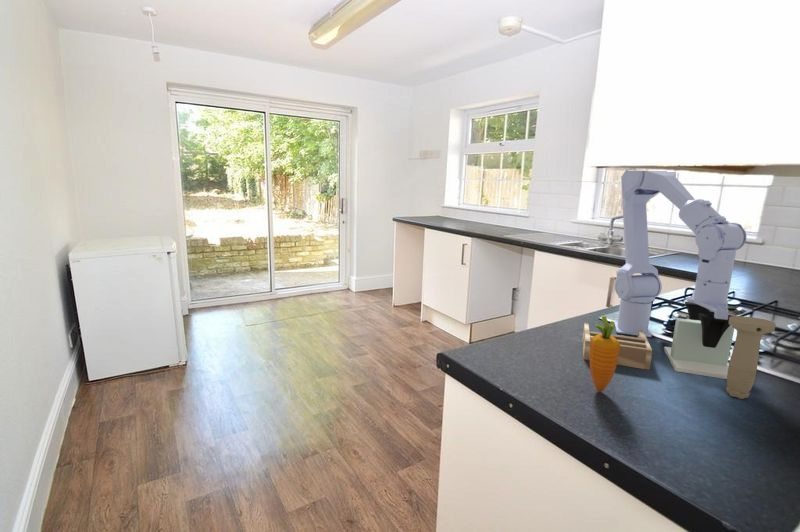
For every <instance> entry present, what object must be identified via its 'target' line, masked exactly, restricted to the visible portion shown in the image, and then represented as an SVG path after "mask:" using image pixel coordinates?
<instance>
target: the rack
mask: <svg viewBox="0 0 800 532" xmlns="http://www.w3.org/2000/svg"><path fill="white" fill-rule="evenodd" d="M598 334H602V332H598V331H592V330H591V331H590V325H589V323H585V322H584V323H583V331H582V354H583V355H582V356H583V360H585V361H589V357H590V341H591V338H592V337H594V336H596V335H598ZM611 336H613V337H615V338H616V339H617V340H618V342H619V343H620V350H619V356H618V361H617V366H622V367H623V366H624V367H629V368H636V369H637V368H638V369H641V370H648V371H650V369H651V362H652V357H653V356H652V355H653V349H652V347H651V345H650V343H649V340H648V337H646V336H645V333H644V331H642V330H638V336H635V337H634V336H630V335H629V336H628V335H619V334H613V333H612V334H611Z"/></svg>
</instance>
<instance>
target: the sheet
mask: <svg viewBox="0 0 800 532" xmlns="http://www.w3.org/2000/svg"><path fill="white" fill-rule="evenodd" d="M734 332H735V328H733V327H732V326H730V327H728V328H727V330H726V331H725V332H724V334H723V335H722V337H721V339H720V341H719V342H718V344H717V346H716V348H711V347H704V346H703V344H702V325H701V321H699V320H690V319H689V318H688V319H687V318H680V317H679V318H678V317H675V325H674V329H673V337H672V342H671V347H672V348H671V354H670V356H671V357H672V358H673V359H677V360H685V361H692V362H700V363H707V364H715V365H723V366H727V364H729V360H730V359H729V358H730V352H731V347H732V341H733V337H734Z"/></svg>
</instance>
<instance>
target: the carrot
mask: <svg viewBox="0 0 800 532" xmlns="http://www.w3.org/2000/svg"><path fill="white" fill-rule="evenodd" d="M601 320H602V323H603V325H600V324H598V323H597V324H595V325H594V326H595V328H597V329H598V330H599V331H600V333H602V334H598V335H596V336H594V337H592V338H591V341H590V357H589V360H588V361H589V370H590V371H589V372H590V376H591V379H592V382H593V384H594V387H595V390H596V391H597V392H598V393H601V392H604V390H605V389H606V388H607V387H608V385H609V384H610V383H611V380H612V379H613V376H614V374H615V373H616V372H615V371H616V368H617V366H618V365H617V361H618V356H619V350H620V343H619V342H618V340H617V339H616V338H615V337H613V336H611V334H613V331H614V329H615V323H614V320H611V321H610V324H609V321H608V319H607V316H606V315H602V316H601Z"/></svg>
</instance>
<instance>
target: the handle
mask: <svg viewBox="0 0 800 532" xmlns="http://www.w3.org/2000/svg"><path fill="white" fill-rule="evenodd" d="M728 317H729V325H730V326H732V327H733V328H734V330H736V338H735V341H734V345H733V349H732V352H731V356H730V359H729V361H728V364H729V366H728V374H727V379H726V383H727V384H726V386H725V387H726V388H725V389H726V393H727V394H728V395H729V396H730V397H733V398H737V399H740V400H744V399H748V398H749V397H750V395H751V390H752V388H753V385H754V384H755V379H756V376H757V372H758V365H759V364H758V363H759V354H760V348H761V340H762V338H763V335H765V334H766V335H767V334H770V333H774V332H775V329H776V326H777V324H776V323H775V322H773V321H771V320H767V319H765V318H758V317H752V316H744V315H743V316H741V315H740V316H739V315H738V316H737V315H734V316H733V315H732V316H728Z"/></svg>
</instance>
